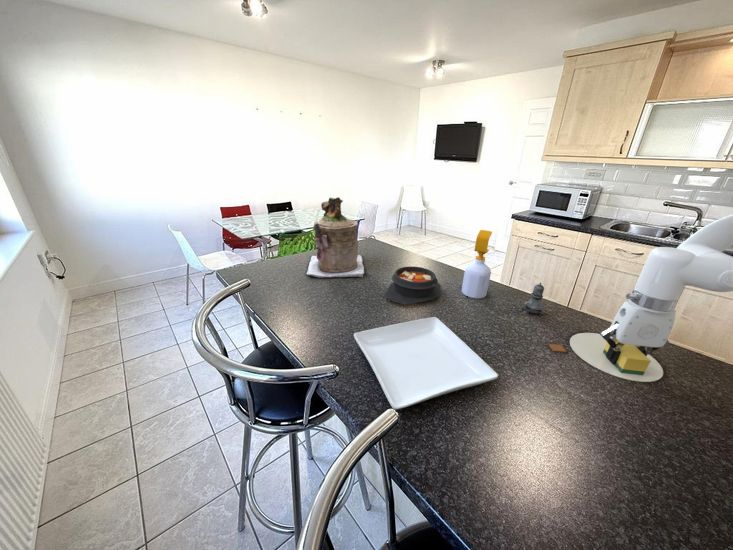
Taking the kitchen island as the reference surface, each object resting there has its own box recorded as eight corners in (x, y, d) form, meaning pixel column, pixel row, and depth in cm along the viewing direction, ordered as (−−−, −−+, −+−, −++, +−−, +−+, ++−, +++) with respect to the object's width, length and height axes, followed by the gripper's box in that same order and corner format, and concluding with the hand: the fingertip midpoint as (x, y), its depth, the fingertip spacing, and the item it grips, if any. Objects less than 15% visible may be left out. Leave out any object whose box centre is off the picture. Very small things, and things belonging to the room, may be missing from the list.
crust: (559, 349, 83) (561, 344, 82) (565, 356, 80) (567, 351, 79) (546, 348, 83) (548, 343, 83) (551, 355, 80) (553, 350, 80)
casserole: (415, 315, 97) (417, 293, 94) (373, 296, 109) (373, 276, 105) (451, 291, 114) (454, 271, 111) (411, 277, 126) (413, 258, 122)
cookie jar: (362, 258, 146) (363, 191, 133) (365, 278, 123) (366, 201, 110) (311, 258, 144) (308, 191, 131) (305, 279, 122) (300, 200, 109)
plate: (628, 340, 87) (630, 336, 87) (683, 390, 69) (685, 386, 69) (556, 332, 90) (557, 329, 90) (590, 379, 72) (592, 375, 72)
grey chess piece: (530, 320, 96) (540, 287, 92) (517, 310, 102) (526, 279, 97) (545, 317, 98) (555, 285, 93) (531, 308, 103) (540, 277, 98)
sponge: (622, 354, 79) (629, 340, 77) (643, 375, 72) (651, 360, 70) (602, 352, 80) (608, 338, 78) (620, 372, 73) (627, 358, 71)
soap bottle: (488, 292, 114) (501, 230, 104) (483, 301, 107) (496, 236, 97) (465, 286, 119) (475, 226, 109) (458, 295, 112) (469, 232, 102)
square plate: (351, 343, 83) (351, 331, 82) (434, 325, 92) (436, 315, 91) (392, 421, 60) (394, 407, 58) (498, 387, 69) (501, 374, 68)
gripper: (621, 304, 66) (594, 367, 74) (708, 312, 64) (671, 376, 71) (602, 289, 73) (579, 349, 80) (680, 296, 70) (649, 356, 78)
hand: (622, 361), depth 76 cm, fingers closed on sponge, 5 cm apart
